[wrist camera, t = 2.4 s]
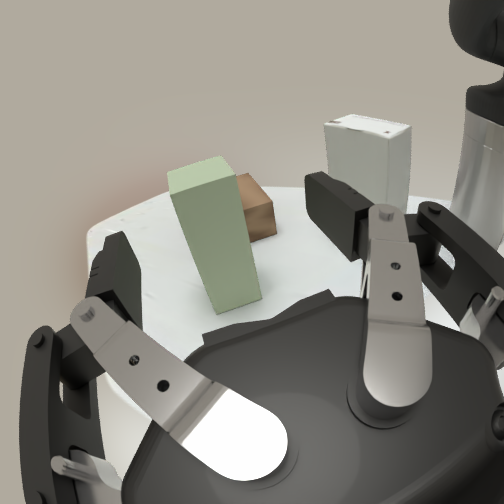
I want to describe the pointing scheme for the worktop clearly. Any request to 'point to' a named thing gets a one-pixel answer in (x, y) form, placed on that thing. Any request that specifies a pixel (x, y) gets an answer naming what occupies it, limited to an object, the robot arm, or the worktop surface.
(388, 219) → the robot arm
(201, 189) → the sage block
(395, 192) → the skincare box
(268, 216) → the walnut riser block
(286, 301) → the worktop surface
